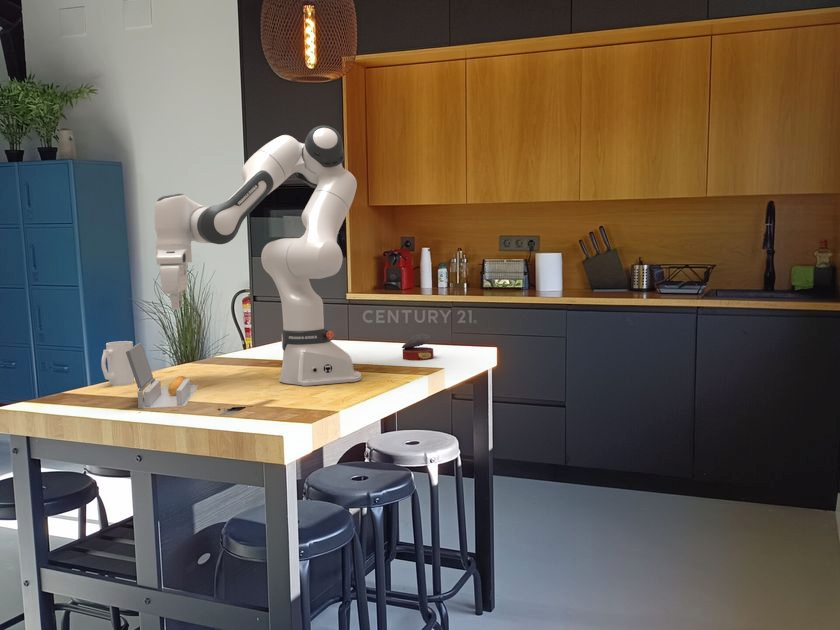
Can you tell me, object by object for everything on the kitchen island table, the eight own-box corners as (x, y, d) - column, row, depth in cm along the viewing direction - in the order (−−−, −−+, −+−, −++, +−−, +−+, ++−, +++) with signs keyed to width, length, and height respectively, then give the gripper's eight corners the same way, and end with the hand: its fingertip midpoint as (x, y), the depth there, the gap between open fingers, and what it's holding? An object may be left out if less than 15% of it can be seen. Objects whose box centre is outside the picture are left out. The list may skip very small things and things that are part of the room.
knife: (225, 419, 173) (204, 418, 175) (226, 424, 174) (205, 423, 175) (267, 395, 195) (248, 394, 196) (267, 399, 195) (248, 398, 196)
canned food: (408, 375, 251) (392, 348, 250) (412, 366, 261) (396, 340, 260) (439, 358, 249) (423, 331, 248) (442, 350, 259) (426, 324, 257)
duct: (198, 388, 211) (198, 370, 210) (185, 410, 184) (184, 389, 184) (157, 390, 209) (156, 372, 208) (138, 412, 183) (136, 391, 182)
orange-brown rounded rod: (183, 389, 208) (189, 379, 208) (176, 398, 196) (183, 388, 196) (173, 383, 207) (179, 373, 207) (165, 392, 196) (172, 381, 196)
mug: (121, 383, 220) (119, 340, 219) (140, 385, 217) (138, 341, 216) (93, 390, 211) (90, 345, 210) (113, 392, 208) (110, 346, 207)
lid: (141, 342, 197) (137, 343, 197) (129, 350, 182) (125, 352, 182) (154, 379, 199) (150, 381, 198) (143, 391, 184) (139, 392, 184)
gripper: (167, 255, 219) (170, 305, 220) (155, 257, 199) (158, 312, 200) (191, 255, 220) (194, 305, 221) (181, 256, 200) (184, 311, 201)
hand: (176, 308), depth 211 cm, fingers open, 3 cm apart
